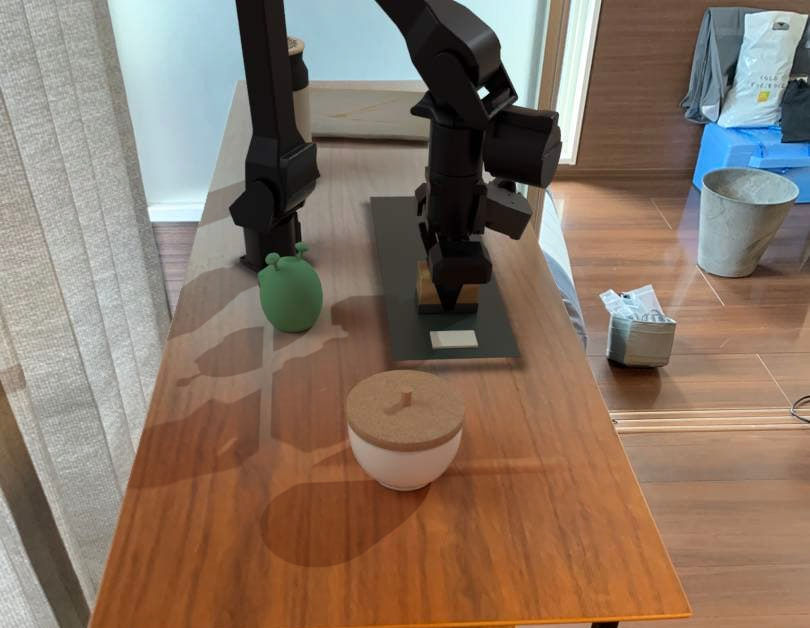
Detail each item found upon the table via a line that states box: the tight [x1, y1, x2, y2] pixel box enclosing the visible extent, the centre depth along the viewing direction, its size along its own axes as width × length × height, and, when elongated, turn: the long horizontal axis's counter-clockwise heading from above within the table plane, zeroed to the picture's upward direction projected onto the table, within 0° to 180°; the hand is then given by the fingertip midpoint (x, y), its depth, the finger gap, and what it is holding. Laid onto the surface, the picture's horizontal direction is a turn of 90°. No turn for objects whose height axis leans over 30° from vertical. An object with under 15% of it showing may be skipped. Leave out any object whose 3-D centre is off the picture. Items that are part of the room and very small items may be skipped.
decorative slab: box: [309, 86, 430, 142], centre depth 138 cm, size 27×21×2 cm
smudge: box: [430, 330, 478, 349], centre depth 92 cm, size 3×5×1 cm, turn 96°
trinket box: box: [345, 369, 467, 492], centre depth 76 cm, size 11×11×9 cm
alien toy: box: [257, 241, 324, 333], centre depth 91 cm, size 7×8×10 cm
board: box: [369, 195, 522, 362], centre depth 104 cm, size 40×14×1 cm, turn 5°
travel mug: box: [287, 35, 313, 142], centre depth 116 cm, size 8×8×18 cm
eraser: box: [415, 261, 479, 314], centre depth 96 cm, size 4×7×4 cm, turn 95°
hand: (445, 300), depth 97 cm, fingers closed on eraser, 4 cm apart
